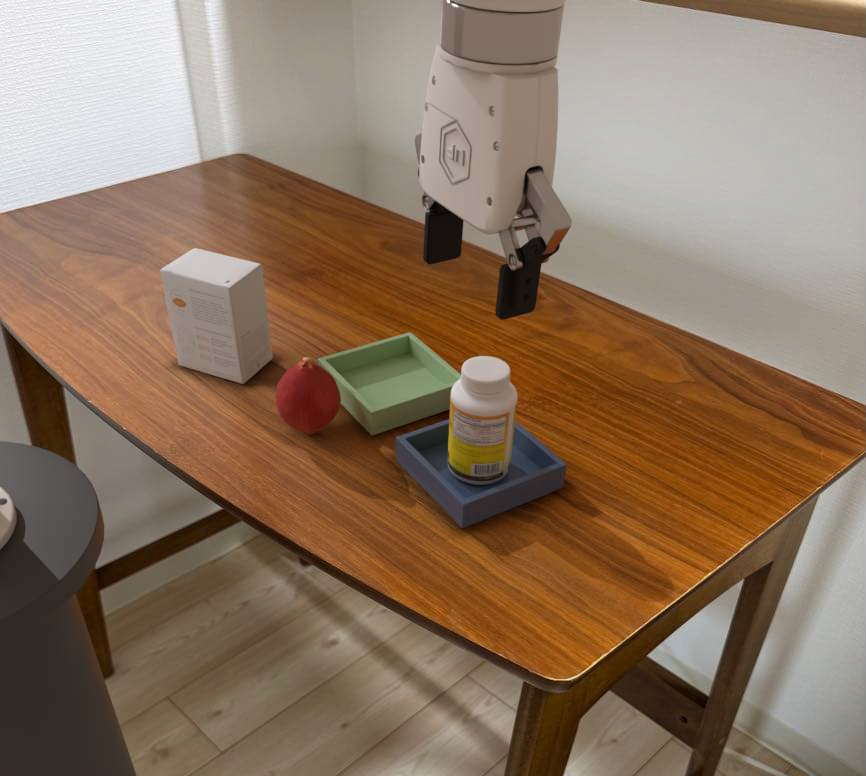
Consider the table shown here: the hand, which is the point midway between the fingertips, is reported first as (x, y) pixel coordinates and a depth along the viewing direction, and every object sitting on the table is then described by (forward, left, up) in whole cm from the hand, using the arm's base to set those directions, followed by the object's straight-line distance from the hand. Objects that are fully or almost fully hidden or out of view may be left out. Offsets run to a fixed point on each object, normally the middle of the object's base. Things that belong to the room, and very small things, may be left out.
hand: (476, 285), depth 68 cm
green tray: (+1, +14, -18) cm, 23 cm away
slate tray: (+1, -1, -18) cm, 18 cm away
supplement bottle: (+1, -1, -17) cm, 17 cm away
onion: (-9, +12, -18) cm, 23 cm away
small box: (-11, +27, -18) cm, 34 cm away
